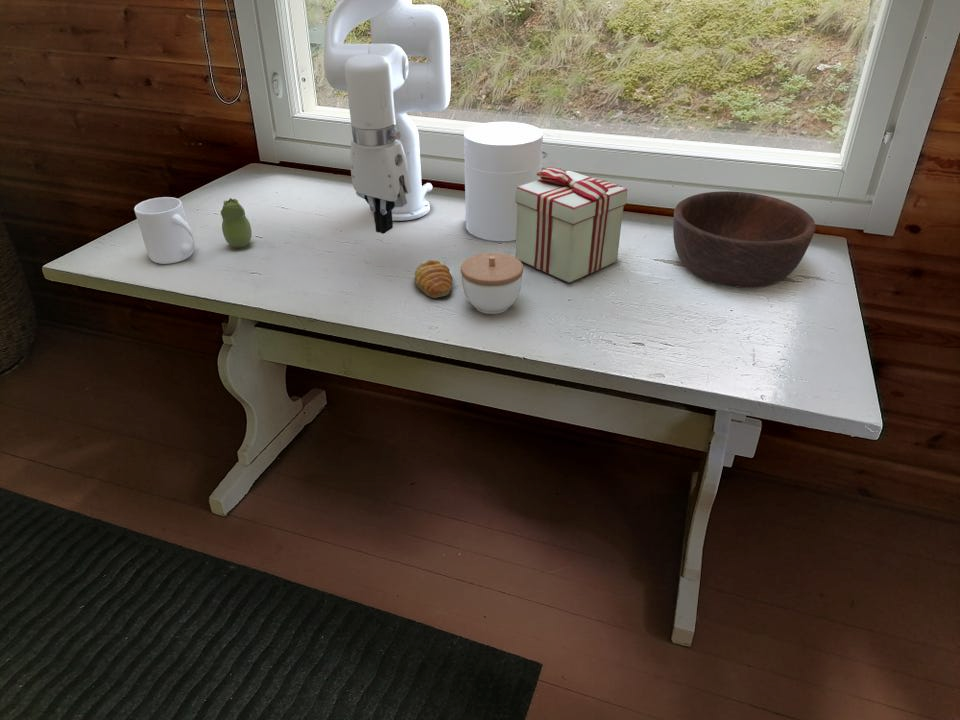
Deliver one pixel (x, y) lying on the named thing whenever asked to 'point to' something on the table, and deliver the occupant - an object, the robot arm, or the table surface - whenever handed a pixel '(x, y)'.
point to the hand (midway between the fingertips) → (384, 229)
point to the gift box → (568, 223)
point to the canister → (498, 175)
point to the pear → (235, 224)
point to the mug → (165, 230)
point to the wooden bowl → (740, 237)
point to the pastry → (434, 279)
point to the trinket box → (492, 281)
